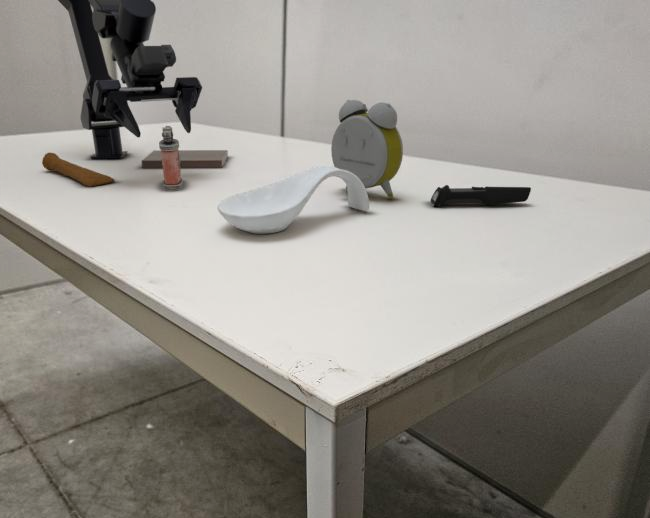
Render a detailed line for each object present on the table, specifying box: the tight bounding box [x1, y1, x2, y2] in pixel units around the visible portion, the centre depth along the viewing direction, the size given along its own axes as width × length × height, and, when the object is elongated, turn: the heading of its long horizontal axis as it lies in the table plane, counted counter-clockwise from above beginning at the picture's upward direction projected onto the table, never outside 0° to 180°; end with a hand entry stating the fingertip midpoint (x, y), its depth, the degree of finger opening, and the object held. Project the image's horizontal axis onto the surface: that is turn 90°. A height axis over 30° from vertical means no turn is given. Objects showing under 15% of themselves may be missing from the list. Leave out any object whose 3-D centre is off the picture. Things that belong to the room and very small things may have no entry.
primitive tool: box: [41, 152, 116, 187], centre depth 115 cm, size 19×6×4 cm, turn 51°
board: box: [141, 149, 229, 169], centre depth 129 cm, size 12×16×2 cm
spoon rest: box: [217, 165, 370, 235], centre depth 88 cm, size 24×12×7 cm, turn 127°
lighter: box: [158, 125, 184, 192], centre depth 108 cm, size 8×3×10 cm, turn 11°
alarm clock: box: [330, 99, 404, 200], centre depth 100 cm, size 12×7×15 cm, turn 47°
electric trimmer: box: [430, 184, 532, 208], centre depth 98 cm, size 4×16×3 cm, turn 91°
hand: (165, 133), depth 107 cm, fingers open, 9 cm apart
